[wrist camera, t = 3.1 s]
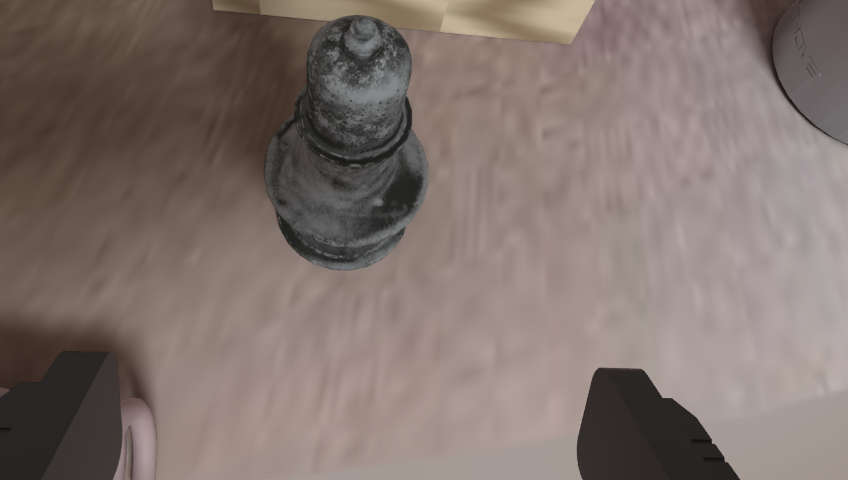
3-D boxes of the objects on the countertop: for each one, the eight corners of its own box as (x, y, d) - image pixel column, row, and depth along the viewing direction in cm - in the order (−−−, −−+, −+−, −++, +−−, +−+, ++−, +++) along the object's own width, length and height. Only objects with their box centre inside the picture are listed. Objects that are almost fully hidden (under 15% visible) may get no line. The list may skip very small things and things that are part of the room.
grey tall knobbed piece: (264, 147, 29) (237, -76, 18) (405, 140, 30) (461, -74, 19) (273, 283, 27) (249, 128, 16) (424, 271, 28) (498, 117, 17)
